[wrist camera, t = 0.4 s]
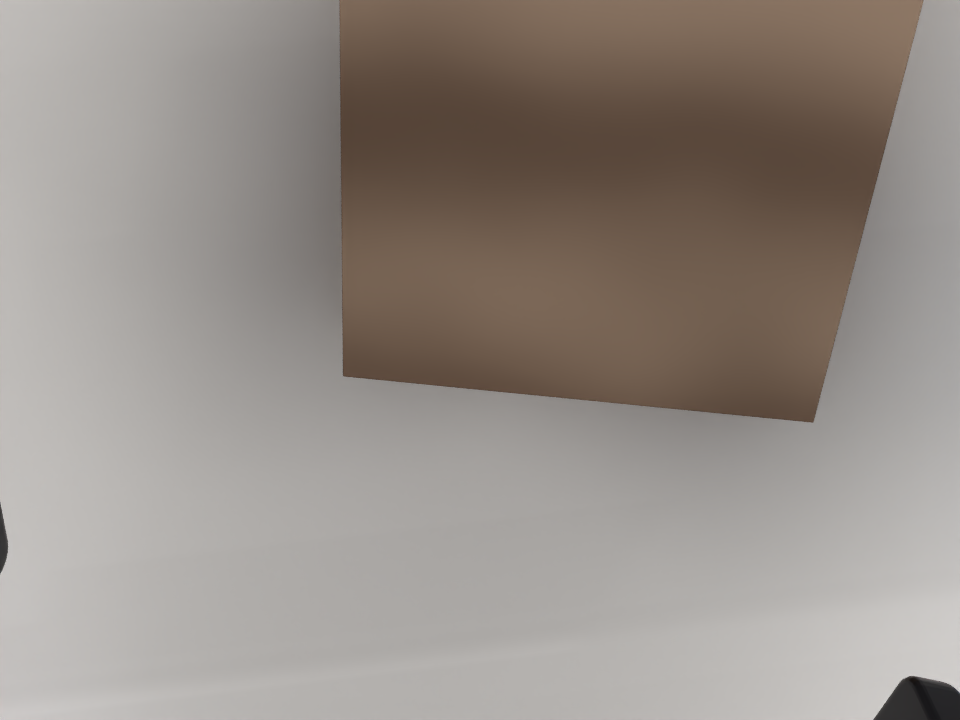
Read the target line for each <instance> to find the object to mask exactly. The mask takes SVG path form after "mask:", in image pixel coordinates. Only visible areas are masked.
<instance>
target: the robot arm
mask: <svg viewBox="0 0 960 720" xmlns="http://www.w3.org/2000/svg"><path fill="white" fill-rule="evenodd" d="M7 553H8V540H7V535H6V530H5V525H4V519H3V514H2V509H1V504H0V573H1V571H2V569H3V567H4V564H5V561H6V558H7ZM874 720H960V693H959V692H958V691H957V690H956V689H955V688H954V687H952V686H951V685H949V684H947V683H944V682H941V681H936V680H931V679H926V678H921V677H916V676H909V677H907V678H905V679H903V680H902V681H901V682H900V683H899V684H898V686H897V687H896V688H895V690H894V691H893V693H892V694H891V696H890V697H889V698H888V700H887V701H886V703H885V704H884V705H883V707H882V708H881V710H880V711H879V712H878V714H877V715H876V717H875V718H874Z"/></svg>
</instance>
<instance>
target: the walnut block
mask: <svg viewBox="0 0 960 720" xmlns="http://www.w3.org/2000/svg"><path fill="white" fill-rule="evenodd" d="M922 4H923V0H340V101H341V207H342V314H343V376H345V377H356V378H366V379H376V380H386V381H396V382H406V383H417V384H427V385H437V386H447V387H457V388H467V389H478V390H488V391H498V392H508V393H518V394H528V395H539V396H549V397H559V398H569V399H579V400H589V401H600V402H610V403H620V404H630V405H640V406H650V407H661V408H671V409H681V410H691V411H701V412H711V413H722V414H732V415H742V416H752V417H762V418H772V419H783V420H793V421H803V422H813V421H814V418H815V414H816V410H817V406H818V402H819V398H820V395H821V391H822V387H823V383H824V379H825V375H826V372H827V368H828V364H829V360H830V356H831V352H832V349H833V345H834V341H835V337H836V333H837V330H838V326H839V322H840V318H841V314H842V310H843V307H844V303H845V299H846V295H847V291H848V287H849V284H850V280H851V276H852V272H853V268H854V264H855V261H856V257H857V253H858V249H859V245H860V242H861V238H862V234H863V230H864V226H865V222H866V219H867V215H868V211H869V207H870V203H871V199H872V196H873V192H874V188H875V184H876V180H877V176H878V173H879V169H880V165H881V161H882V157H883V153H884V150H885V146H886V142H887V138H888V134H889V131H890V127H891V123H892V119H893V115H894V111H895V108H896V104H897V100H898V96H899V92H900V88H901V85H902V81H903V77H904V73H905V69H906V65H907V62H908V58H909V54H910V50H911V46H912V43H913V39H914V35H915V31H916V27H917V23H918V20H919V16H920V12H921V8H922Z"/></svg>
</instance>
